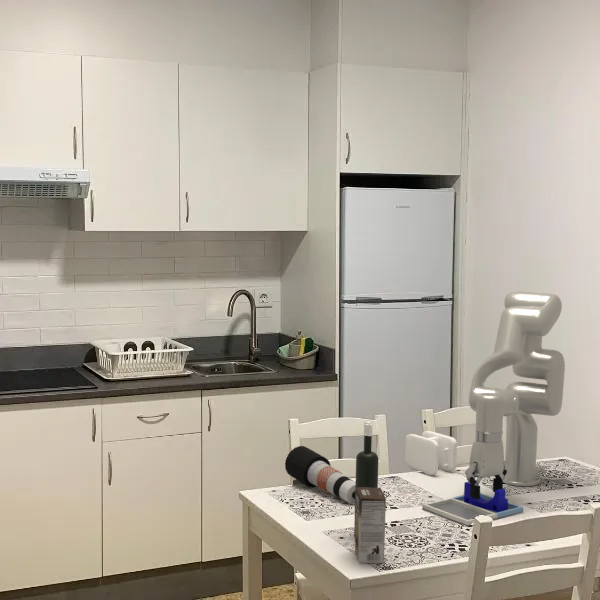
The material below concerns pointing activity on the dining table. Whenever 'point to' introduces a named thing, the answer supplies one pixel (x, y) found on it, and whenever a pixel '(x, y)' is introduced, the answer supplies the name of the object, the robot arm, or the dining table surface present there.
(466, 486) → the blue u-shaped cradle
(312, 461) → the telephoto camera lens
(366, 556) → the coffee box
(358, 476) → the wine bottle
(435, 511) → the grey divided tray
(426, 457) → the organizer
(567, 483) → the dining table surface
